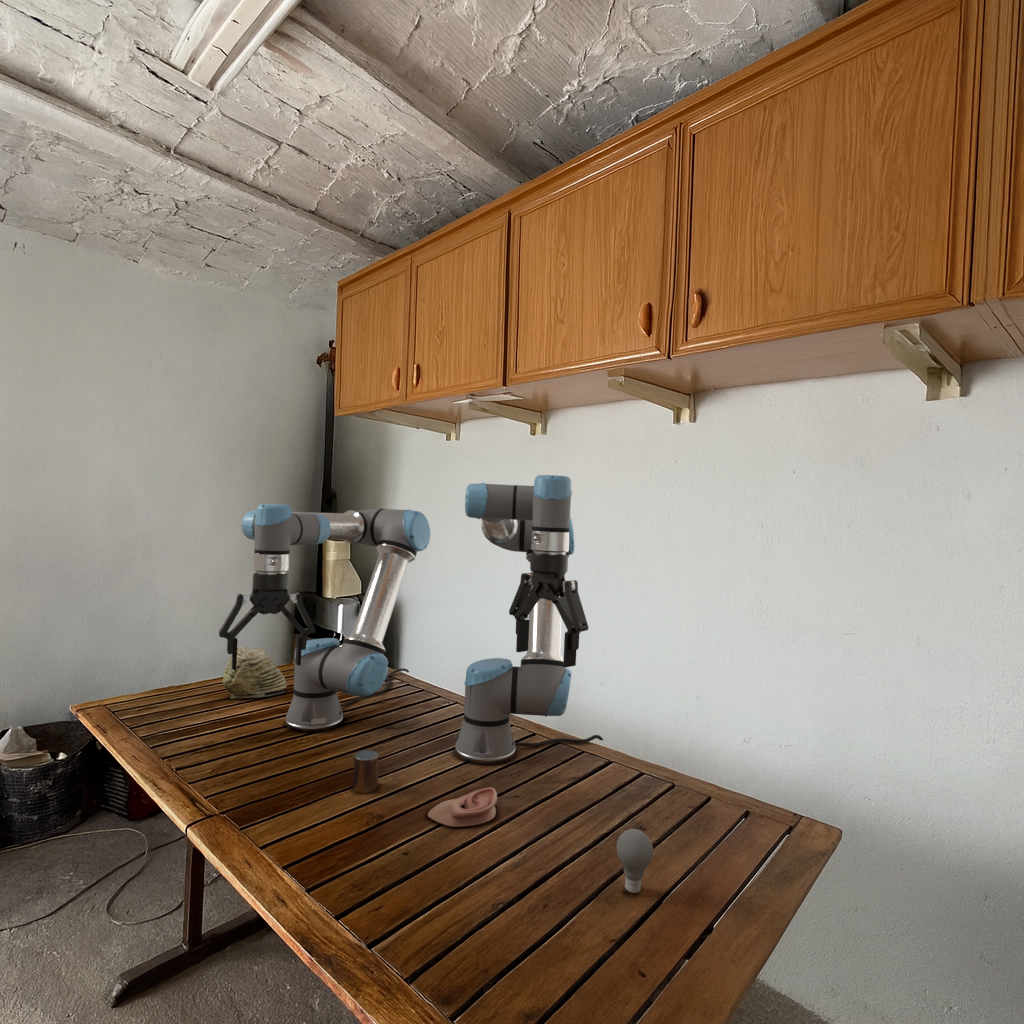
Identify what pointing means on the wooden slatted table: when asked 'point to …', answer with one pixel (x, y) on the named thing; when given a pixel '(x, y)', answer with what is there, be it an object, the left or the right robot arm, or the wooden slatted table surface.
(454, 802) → the anatomical model
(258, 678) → the fossil
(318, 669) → the left robot arm
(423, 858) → the wooden slatted table surface
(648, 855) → the light bulb
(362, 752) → the canister
